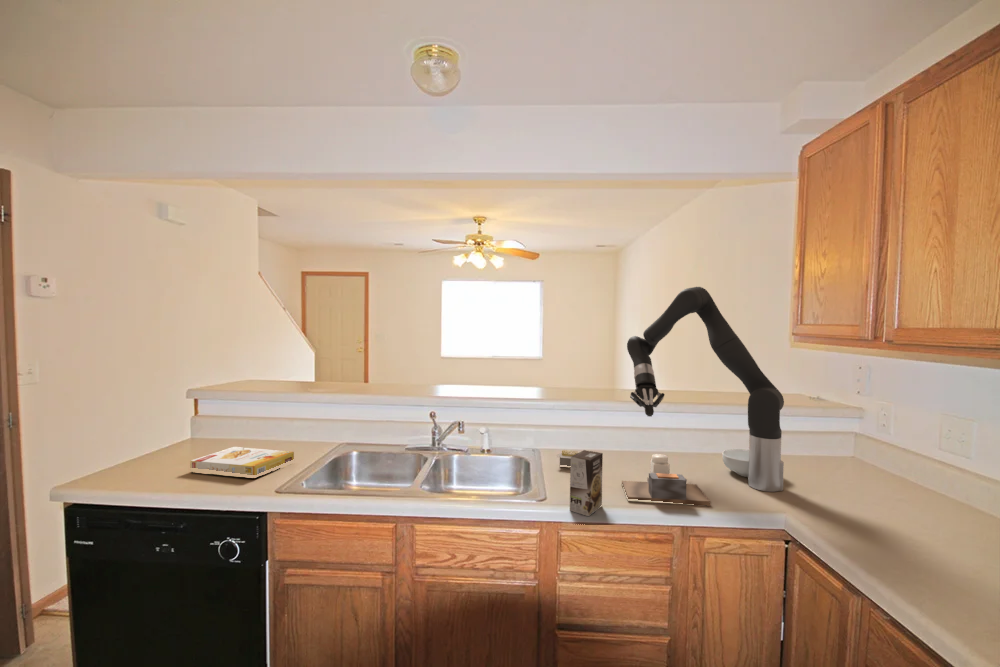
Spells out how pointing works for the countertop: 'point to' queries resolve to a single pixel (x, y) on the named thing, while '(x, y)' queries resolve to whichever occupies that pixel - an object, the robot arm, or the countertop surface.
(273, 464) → the cereal box
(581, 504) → the coffee box
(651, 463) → the plunger knob
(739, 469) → the cereal bowl
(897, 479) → the countertop surface
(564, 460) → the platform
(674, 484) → the knob mount
